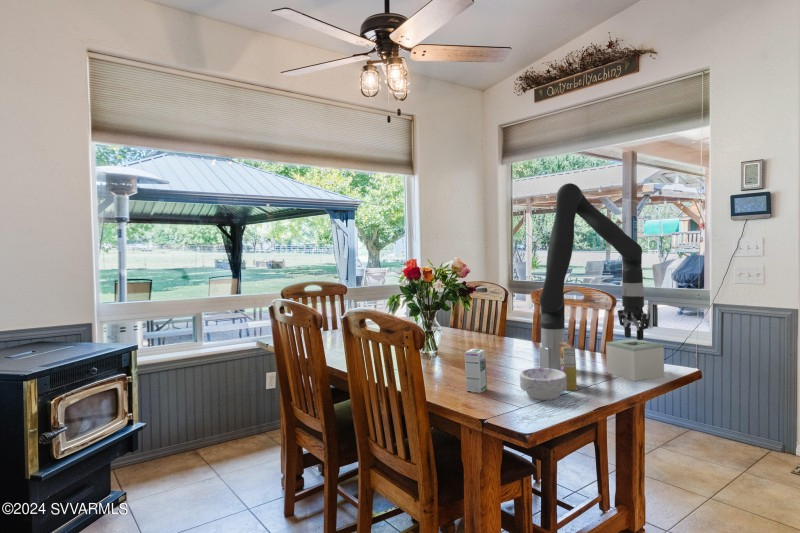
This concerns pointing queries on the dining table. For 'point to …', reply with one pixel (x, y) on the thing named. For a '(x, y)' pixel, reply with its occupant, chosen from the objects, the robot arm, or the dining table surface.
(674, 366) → the dining table surface
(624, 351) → the box
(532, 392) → the marbled stone bowl
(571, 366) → the candy box
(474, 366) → the syrup box
